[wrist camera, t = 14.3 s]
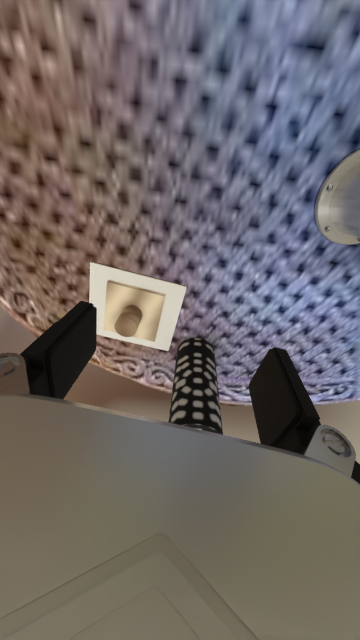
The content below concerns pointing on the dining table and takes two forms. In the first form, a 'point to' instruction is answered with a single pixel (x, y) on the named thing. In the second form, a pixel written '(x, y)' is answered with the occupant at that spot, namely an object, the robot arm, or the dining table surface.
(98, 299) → the white flat block
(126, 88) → the dining table surface
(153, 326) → the wooden lid
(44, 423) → the robot arm
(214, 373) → the spotted tube
